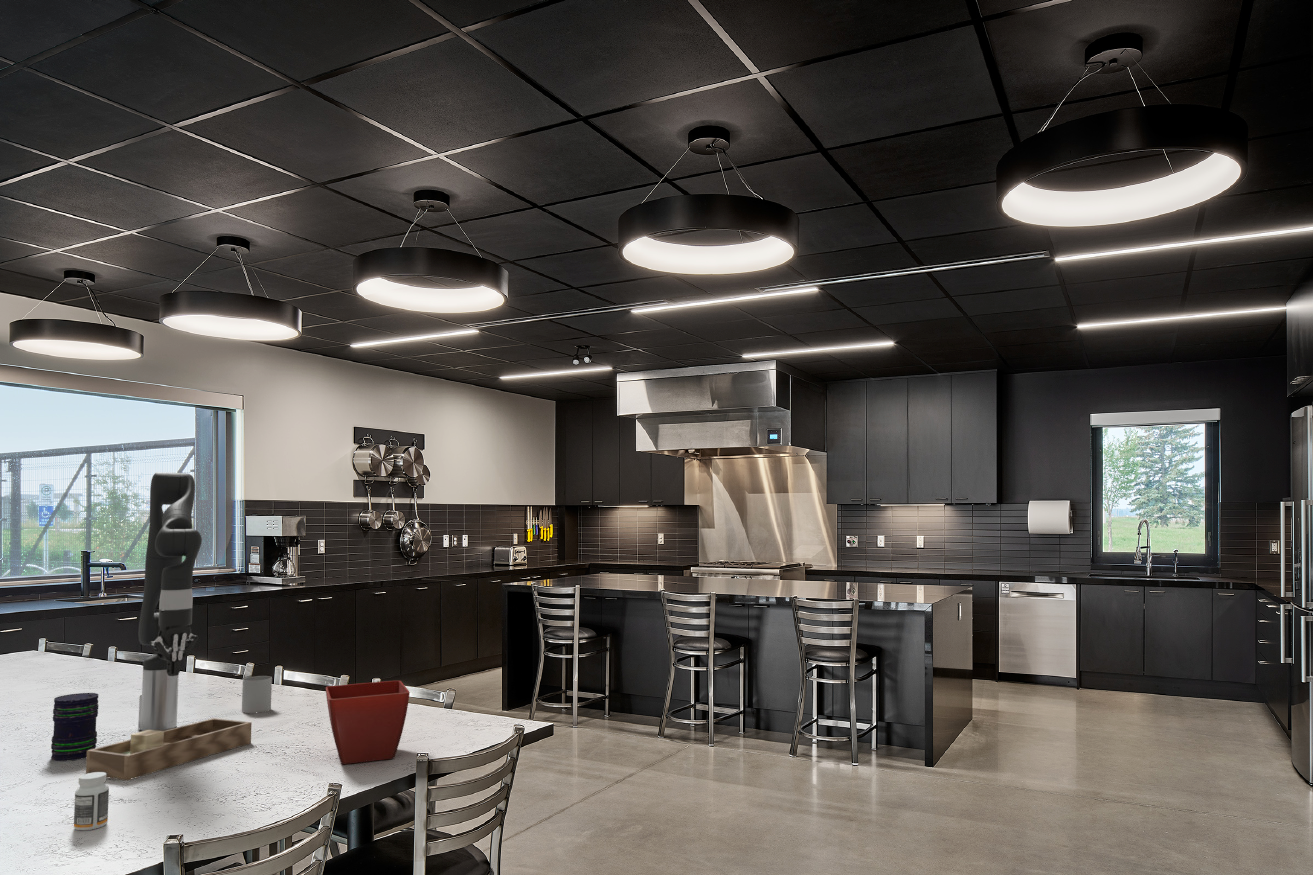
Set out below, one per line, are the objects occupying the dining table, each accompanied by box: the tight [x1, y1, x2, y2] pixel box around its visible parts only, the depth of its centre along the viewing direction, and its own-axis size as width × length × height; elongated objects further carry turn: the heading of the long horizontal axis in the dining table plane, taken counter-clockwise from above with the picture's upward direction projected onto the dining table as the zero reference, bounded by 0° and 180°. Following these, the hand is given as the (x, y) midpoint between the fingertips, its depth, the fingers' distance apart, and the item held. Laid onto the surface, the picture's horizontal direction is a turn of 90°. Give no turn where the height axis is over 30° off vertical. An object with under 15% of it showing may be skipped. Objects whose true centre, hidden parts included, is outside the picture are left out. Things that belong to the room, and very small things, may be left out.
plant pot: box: [325, 680, 410, 765], centre depth 226 cm, size 19×19×17 cm
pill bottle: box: [73, 772, 110, 831], centre depth 175 cm, size 6×6×10 cm
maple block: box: [130, 730, 165, 754], centre depth 218 cm, size 5×5×5 cm
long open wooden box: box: [85, 717, 252, 781], centre depth 225 cm, size 36×14×6 cm, turn 158°
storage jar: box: [50, 692, 99, 762], centre depth 228 cm, size 10×10×15 cm
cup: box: [241, 675, 273, 714], centre depth 279 cm, size 8×8×10 cm
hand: (173, 675), depth 226 cm, fingers closed
